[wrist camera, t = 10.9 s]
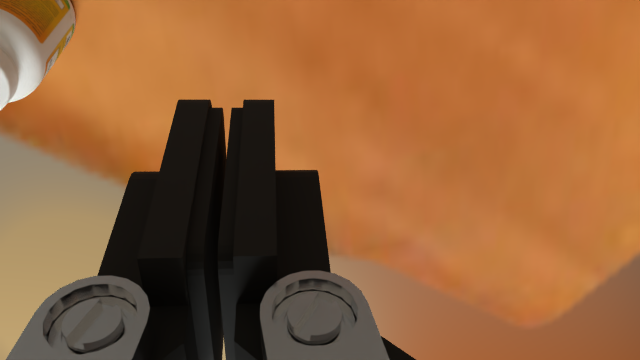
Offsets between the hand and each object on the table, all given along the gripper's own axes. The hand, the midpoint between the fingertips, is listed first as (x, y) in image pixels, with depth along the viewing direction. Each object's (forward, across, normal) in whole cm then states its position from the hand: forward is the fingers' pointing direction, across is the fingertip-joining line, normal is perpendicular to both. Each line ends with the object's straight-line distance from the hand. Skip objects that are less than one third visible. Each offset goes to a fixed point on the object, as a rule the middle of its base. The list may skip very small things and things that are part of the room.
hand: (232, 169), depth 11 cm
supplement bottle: (+27, +14, +7) cm, 31 cm away
